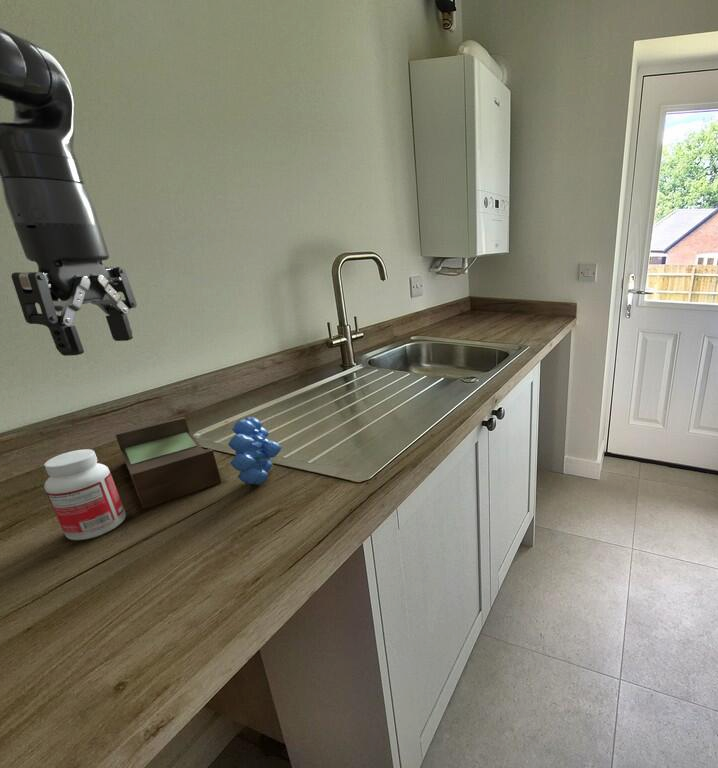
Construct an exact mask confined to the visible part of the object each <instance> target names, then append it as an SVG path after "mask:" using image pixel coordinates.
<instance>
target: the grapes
mask: <svg viewBox="0 0 718 768" xmlns="http://www.w3.org/2000/svg"><path fill="white" fill-rule="evenodd" d="M263 425H264V424H263V423H262V422H261V421H260V420H259V419H257V418H256V417H254V416H247V417H245V418H242V419H240V420H238V421H236V423H235V424H234V425H233V427H232V429H231V431H232V432H233V433H234V435H233V436H232V437H231V439H230V440H229V442H228V443H227V445H228V446H229V447H230V449H232V450H233V451H234V452H235V455H234V456H233V458H232V460H231V462H230V465H231V466H232V467H233V468H234V469H235V470H237V471H238V472H239V473H238V475H237V478H238V479H239V480H240V481H241V482H242V483H244V484H246V485H257V486H258V485H261V484H263V483H264V482H265V481H266V479H267V478H268V476H269V475H270V474H269V473H268V472H269V471H270V470H271V468H272V467H273V463H272V462H271V461H270V459H272V458H275V457H277V456H278V455H279V453H280V452H281V450H282V448H283V447H282V446H281V445H280V444H279V443H278V442H277V441H275V440H271V439H267V438H268V436H269V435H270V432H269V431H268V430H267V429H266V428H265V427H263Z"/></svg>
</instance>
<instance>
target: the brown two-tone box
mask: <svg viewBox="0 0 718 768" xmlns="http://www.w3.org/2000/svg"><path fill="white" fill-rule="evenodd" d="M114 435H115V438H116V441H117V443H118V447H119V449H120V452H121V455H122V457H123V460H124V463H125V466H126V469H127V471H128V474H129V476H130V479H131V482H132V484H133V487H134V489H135V492H136V494H137V497H138V499H139V502H140V504H141V507H142V509H143V510H147V509H149V508H152V507H155V506H158V505H161V504H163V503H166V502H169V501H172V500H176V499H178V498H181V497H184V496H187V495H190V494H192V493H195V492H198V491H201V490H203V489H206V488H209V487H213V486H216V485H218V484H221V483H222V479H221V474H220V472H219V471H220V470H219V467H218V464H217V460H216V457H215V453H214V450H213V448H211V447H210V448H207V449H204V448H203V447H202V445H201V444H200V443H199V442H198V441H197V439H196V438H195V437H194V436H193V434H192V433H191V432H190V428H189V425H188V422H187V418H186V417H185V416H181V417H177V418H173V419H169V420H164V421H160V422H156V423H151V424H147V425H143V426H139V427H135V428H131V429H127V430H122V431H118V432H115V433H114Z"/></svg>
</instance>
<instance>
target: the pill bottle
mask: <svg viewBox="0 0 718 768" xmlns="http://www.w3.org/2000/svg"><path fill="white" fill-rule="evenodd" d="M43 466H44V469H45V471H46V472H47V476H49V477H48V478H47V479H46V480H45V483H44V484H43V487H44V491H45V493H46V495H47V498H48V500H49V502H50V504H51V506H52V509H53V512H54V514H55V516H56V518H57V521H58V522H59V525H60V527H61V529H62V531H63V532H62V533H64V536H65V537H66V538H67V539H68V540H70V541H85V540H90V539H94V538H97V537H99V536H102V535H105V534H106V533H108V532H110V531H112V530H114V529H116V528H117V527H119V526H120V525H121V524H122V523H123V522H124V521H125V519H126V516H127V514H126V511H125V508H124V505H123V503H122V500H121V497H120V495H119V491H118V488H117V486H116V484H115V481H114V479H113V476H112V473H111V470H110V469H109V467H108V466H107V465H105V464H103V463H100V462H99V463H98V456H97V455H96V452H95V450H94V449H90V448H89V449H88V448H86V449H85V448H84V449H77V450H72V451H67V452H63V453H61V454H58V455H56V456H53V457H51V458H49V459H48V460H46V461H45V462H44V464H43Z"/></svg>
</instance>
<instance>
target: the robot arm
mask: <svg viewBox="0 0 718 768" xmlns="http://www.w3.org/2000/svg"><path fill="white" fill-rule="evenodd" d="M0 99H3V100H6V101H10V102H11V103H12V107H13V119H12V121H0V183H1V187H2V192H3V193H2V194H3V197H4V201H5V205H6V207H7V209H8V212H9V215H10V218H11V221H12V223H13V226H14V229H15V232H16V234H17V236H18V240H19V242H20V245H21V248H22V250H23V253H24V256H25V258H26V259H27V260H28V261H31V262H35V263H36V265H37V269H38V271H21V272H13V273H11V275H10V276H11V280H12V283H13V287H14V290H15V293H16V296H17V299H18V302H19V305H20V309H21V311H22V314H23V317H24V320H25V322H26V323H27V324H30V325H40V326H44V327H47V328H48V330H49V332H50V335H51V337H52V340H53V343H54V345H55V348H56V350H57V351H58V352H59V353H60V355H62V356H66V357H67V356H69V357H70V356H79V355H82V354H84V352H85V351H84V348H83V347H84V346H83V344H82V342H81V339H80V336H79V333H78V330H77V327H76V325H73V323H74V320H75V316H76V312H78V311H80V310H81V309H82V308H83V305H85V304H89V303H90V304H92V305H94V306H97V307H98V308H99V309H100V310H101V311H103V312H104V313H105V314H106V315H105V318H106V321H107V325H108V328H109V332H110V334H111V337H112V340H114V341H116V342H127V341H130V340H131V341H132V339H133V337H134V336H133V331H132V328H131V324H130V321H129V318H128V314H129V313H130V310H131V309H135V308H137V306H138V305H137V301H136V298H135V295H134V292H133V289H132V286H131V283H130V280H129V278H128V275H127V272H126V269H125V268H124V267H122V266H105V265H104V264H103V261H107V260H108V259H109V258H110V254H109V251H108V247H107V244H106V241H105V237H104V235H103V234H104V233H103V232H102V227H101V225H100V221H99V217H98V216H97V212H96V207H95V205H94V202H93V200H92V198H91V196H90V194H89V192H88V190H87V187H86V185H85V181H84V178H83V174H82V172H81V168H80V165H79V162H78V159H77V156H76V153H75V149H74V143H75V94H74V90H73V86H72V83H71V81H70V78H69V76H68V75H67V73H66V71H65V70H64V68H63V66H62V65H61V63H60V62H59V61H58V59H56V57H55V56H54V55H52V54H51V52H49V51H48V50H47V49H45V48H44V47H42V46H40V45H39V44H37V43H35V42H33V41H30V40H29V39H27V38H24V37H21V36H19V35H17V34H14V33H13V32H10V31H7V30H5V29H3V28H1V27H0ZM120 293H121V294H123V297H124V299H121V298H122V295H121V294H120ZM36 304H37V305H39V308H40V311H41V313H38V310H37V309H38V308H37V306H36ZM59 313H60V315H59Z"/></svg>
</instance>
